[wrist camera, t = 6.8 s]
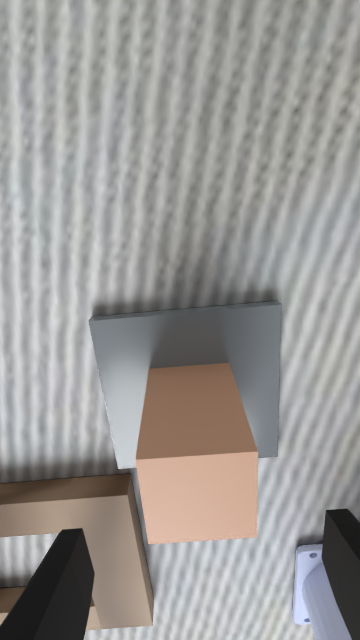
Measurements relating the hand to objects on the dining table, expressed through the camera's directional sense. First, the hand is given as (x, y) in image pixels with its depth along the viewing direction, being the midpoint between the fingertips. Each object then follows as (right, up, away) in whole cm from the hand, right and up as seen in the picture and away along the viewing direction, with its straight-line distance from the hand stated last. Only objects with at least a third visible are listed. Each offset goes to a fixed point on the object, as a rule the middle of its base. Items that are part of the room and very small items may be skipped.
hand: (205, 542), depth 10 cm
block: (0, +3, +7) cm, 8 cm away
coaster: (0, +3, +8) cm, 8 cm away
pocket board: (-10, -9, +12) cm, 18 cm away
